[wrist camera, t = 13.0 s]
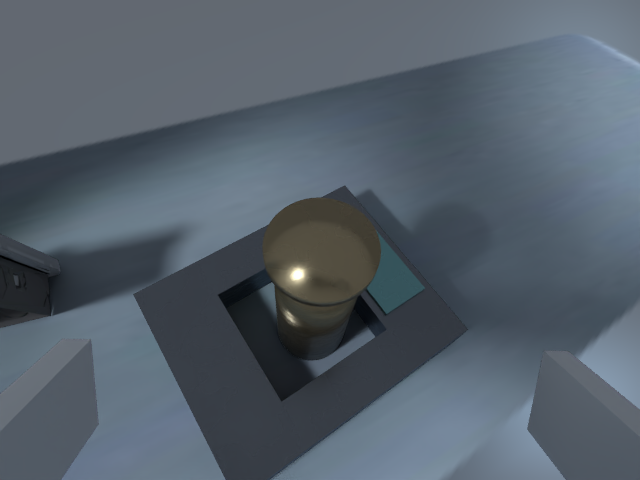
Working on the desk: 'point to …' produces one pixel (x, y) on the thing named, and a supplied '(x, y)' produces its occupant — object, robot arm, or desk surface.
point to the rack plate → (248, 377)
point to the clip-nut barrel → (318, 271)
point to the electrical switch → (24, 282)
